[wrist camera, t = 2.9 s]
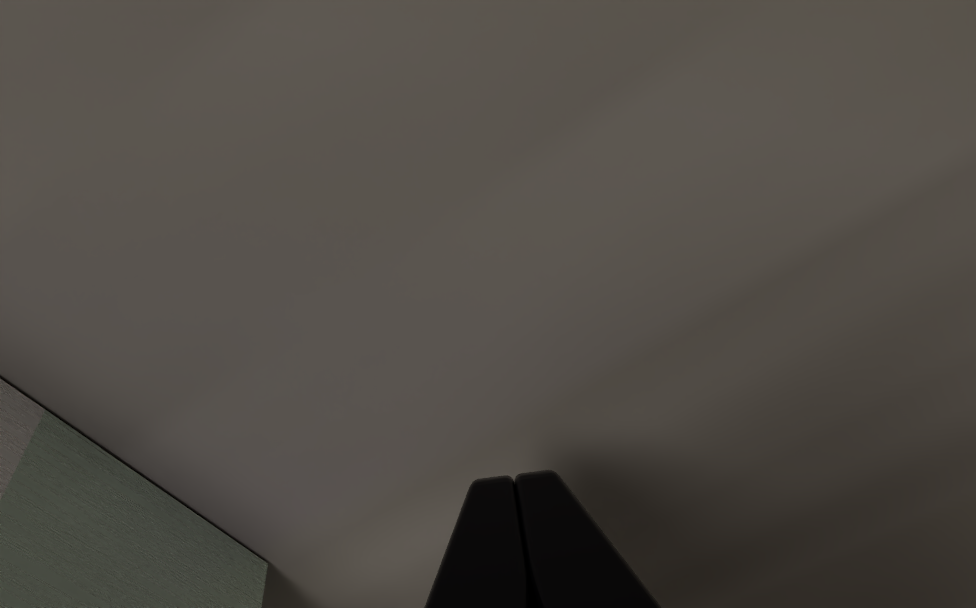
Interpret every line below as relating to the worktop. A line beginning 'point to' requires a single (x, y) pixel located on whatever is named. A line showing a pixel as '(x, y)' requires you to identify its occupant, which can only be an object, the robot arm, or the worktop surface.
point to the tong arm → (103, 528)
